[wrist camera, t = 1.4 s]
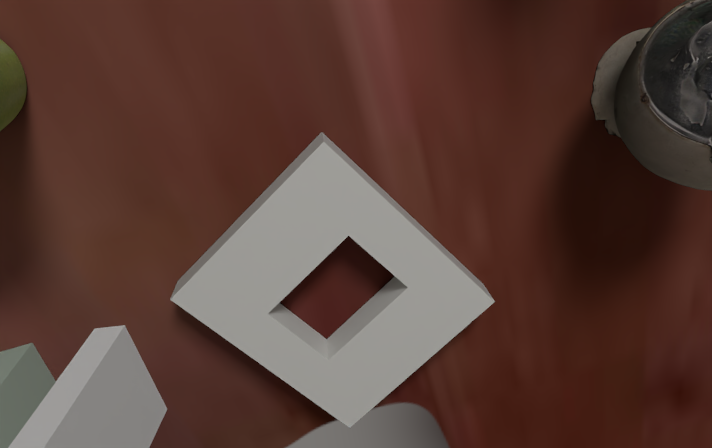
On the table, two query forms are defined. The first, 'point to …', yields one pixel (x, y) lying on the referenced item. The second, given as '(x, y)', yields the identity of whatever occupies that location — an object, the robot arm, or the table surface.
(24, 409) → the key block
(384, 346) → the socket plate
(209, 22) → the table surface
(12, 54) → the plant pot
